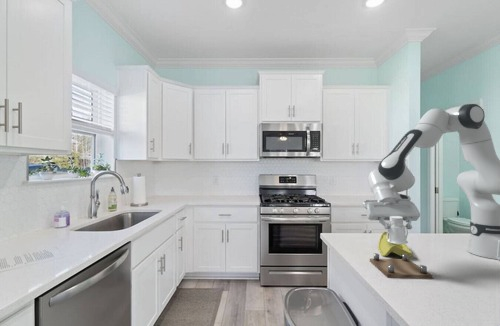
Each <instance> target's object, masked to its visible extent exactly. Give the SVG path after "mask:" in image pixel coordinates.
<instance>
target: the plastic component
mask: <svg viewBox="0 0 500 326" xmlns="http://www.w3.org/2000/svg"><path fill="white" fill-rule="evenodd" d="M386 235H387V231H383V232H382V234H381V235H380V238H379V241H378V245H377V246H378V247H377V248H378V250H379V253H380V254H381V257H387V256H389V255H390V254H391V253H394V254H396V255H398V256H400V257H402V254H407V255H408V260H410V258H411V256H412V255H413V252H412V251H411V250H410V248H409V247H408V246H407V245H406V244H394V243H390V242H388V240H387V238H386ZM387 237H388V239H389V232H388V236H387Z"/></svg>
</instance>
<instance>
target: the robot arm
mask: <svg viewBox="0 0 500 326" xmlns="http://www.w3.org/2000/svg"><path fill="white" fill-rule="evenodd" d="M455 132H457V134H458V138H459V143H460V146H461V151H462V156H463V158H464V161H466V162H467V163H469V164H470V165H471V166H472V167H473V168H474V169H469V170H465V171H462V172H460V173H459V174H458V176H457V178H456V185H457V186H458V187H459V188H460V189H461V190H462V191H463V192H464V194H465V195H466V198H467V200H468V202H469V207H470V221H469V230H470V238H469V243H468V247H467V252H468V253H470V254H473V255H475V256H479V257H482V258H487V259H488V258H489V259H493V260H497V261H500V204H499V203H498V202H497V201H496V200H495V199H494V196H493V195H495V196H497V195H498V196H500V158H499V156H498V155H497V153H496V149H495V146H494V142H493V138H492V136H491V135H492V134H491V132H490V130H489V127H488V125H487V124H486V122H485V111H484V109H483V108H482V106H480V105H479V104H478V103H477V104H476V103H466V104H463V105H458V106H453V107H449V108H448V109H442V108H437V107H435V108H431V109H429V110H428V111H426V112H425V113H424V114H423V116H422V117H420V119H419V121H418V122H417V123H416V125H415V126H414V127H413V129H411V130H409V131H407V132H406V133H405V134H404V135H403V136H402V138H401V139H400V140H399V141H398V142H397V143H396V145H395V146H394V148H393V149H392V150H391V151H390V152H389V153H388V154H387V155H386V156H385V157H383V159H382V160H381V161H380V162H379V163H378V167H377V168H375V169H373V170H372V171H371V172H370V173H369V174H368V176H367V182H368V186H369V189H370V192H371V193H372V194H373V199H374V200H373V199H372V200H371V199H370V200H369V199H367V200H365V201H364V202H363V207H364V209H365V214H366V217H367V219H368V220H370V221H379V223H380V224H381V225H382V226H383V228H384V229H385V230H388V229H390V225H389V224H390V216H401V217H403V222H404V221H405V223H406V224H405V225H404V226H405V230H406V229H407V230H412V229H413V226H412V222H413V221H414V222H415V221H416V222H417V221H418V220H419V218H420V217H421V213H420V210H419V208H418V207H417V206H416V204H415V203H414V202H413V201H412V200H411V197H410V195H406V194H402V193H401V192H404V191H405V192H406V191H407V190H409V189H411V188H412V187H413V186H414V184H415V182H416V178H415V176H414V174H413V173H412V172H411V170H410V169H409V168H408V166H407V164H406V160H407V157H408V156H409V155H410V153H411V152H412V151H413V150H414V148H419V149H430V148H433V147H435V146H436V145H437V144H438V143H439V141H440V140H441V138H442V136H443V135H444V134H447V133H455ZM386 221H388V222H389V223H388V222H386Z"/></svg>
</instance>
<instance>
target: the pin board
mask: <svg viewBox="0 0 500 326" xmlns="http://www.w3.org/2000/svg"><path fill="white" fill-rule="evenodd" d="M369 262H370V263H371V264H372V265H373V266H374V267H375V268H376V269H377V270H378V271H380V272H381V273H382V274H383V275H384V276H385V277H386V278H391V279H392V278H393V279H396V278H397V279H398V278H399V279H434V274H432V273H431V272H429V271H428V270H427V269H428V267H427V266H426V265H422V264H420V265H418V264H416V263H415V262H413V261H412V260H410V259H408V255H407V254H402V256H401V258H380V254H379V253H377V252H376V253H373V258H369Z"/></svg>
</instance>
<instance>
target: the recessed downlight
mask: <svg viewBox="0 0 500 326" xmlns="http://www.w3.org/2000/svg"><path fill="white" fill-rule="evenodd" d="M389 225H390V229H387V231H386V232H387V235H386V238H387V240H388V242H390V243H394V244H405V245H406V244H408V243H409V241H408V240H407V238H408V236H409V229H406V227H405V226H406V225H404V221H403V217H401V216H390V221H389ZM388 233H389V239H388V237H387V236H388Z"/></svg>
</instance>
